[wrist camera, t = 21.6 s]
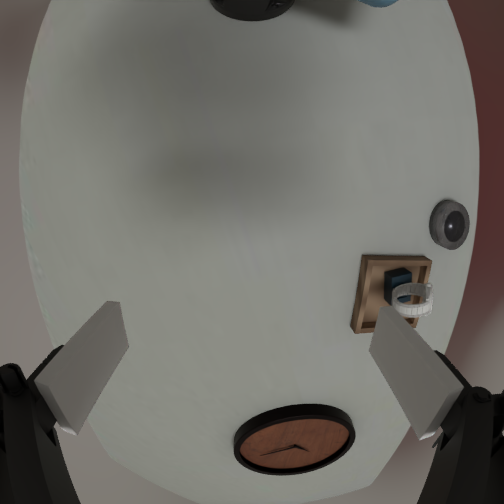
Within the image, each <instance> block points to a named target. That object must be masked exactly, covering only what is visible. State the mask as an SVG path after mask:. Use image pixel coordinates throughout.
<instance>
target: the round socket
mask: <svg viewBox="0 0 504 504" xmlns="http://www.w3.org/2000/svg"><path fill="white" fill-rule="evenodd" d="M469 224H470V222H469V215H468V212H467V210H466V208H465V207H464V206H463V205H462V204H460V203H457V202H453V201H447V200H446V201H442V202H440V203H439V204H437V205H436V207H435V208H434V210H433V212H432V214H431V217H430V223H429V228H430V234H431V237H432V239H433V240H434V242H435V243H436V244H438V245H440V246H442V247H444V248H447V249H449V250H454V249H457V248H459V247H460V246H461V245H462V244H463V243H464V241H465V239H466V237H467V235H468V232H469Z"/></svg>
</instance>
